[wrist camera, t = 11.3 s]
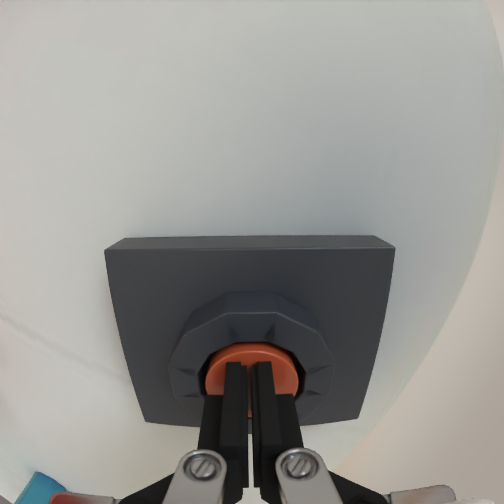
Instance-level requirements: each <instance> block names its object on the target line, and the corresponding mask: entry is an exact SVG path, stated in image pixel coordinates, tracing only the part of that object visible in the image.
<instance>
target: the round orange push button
mask: <svg viewBox="0 0 504 504" xmlns="http://www.w3.org/2000/svg"><path fill="white" fill-rule="evenodd" d="M257 361H271V363H272V371H273V378H274V386H275V394H287V393H292V394H293V396H295V394H296V392H297V389H298V381H299V380H298V375H297V371H296V366H295V362H294V358H293V354H292V352H291V351H289V350H286V349H284V348H282V347H279V346H277V345H275V344H273V343H271V342H268V341H267V342H234V343H232V344H230V345H228V346H226V347H224V348H222V349H220V350H218V351H215V352H213V353H211V354H210V358H209V363H208V369H207V374H206V381H205V386H206V391H207V393H208V394H209V395H223V393H224V381H225V370H226V362H241V365H246V366H247V409H248V417H252V401H251V365H257Z"/></svg>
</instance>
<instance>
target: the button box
mask: <svg viewBox="0 0 504 504" xmlns="http://www.w3.org/2000/svg"><path fill="white" fill-rule="evenodd" d="M104 254H105V261H106V268H107V274H108V280H109V286H110V292H111V297H112V303H113V308H114V313H115V317H116V322H117V326H118V331H119V335H120V339H121V343H122V347H123V351H124V355H125V359H126V362H127V366H128V370H129V373H130V376H131V380H132V383H133V386H134V390H135V393H136V396H137V399H138V402H139V405H140V408H141V411H142V414H143V416H144V419H145V421H146V422H150V423H158V424H167V425H177V426H189V427H201V421H202V415H203V408H204V402H205V397H206V394H208V393H207V391H206V386H205V381H206V374H207V369H208V363H209V358H210V354H211V353H213V352H215V351H218V350H220V349H222V348H224V347H226V346H228V345H230V344H232V343H234V342H267V341H268V342H271V343H273V344H275V345H277V346H279V347H282V348H284V349H286V350H289V351H291V352H292V354H293V358H294V362H295V366H296V371H297V375H298V380H299V381H298V389H297V392H296V394H295V396H294V401H295V405H296V410H297V415H298V420H299V425H300V426H306V425H316V424H324V423H332V422H339V421H346V420H352V419H357V418H358V417H359V414H360V411H361V408H362V404H363V401H364V398H365V395H366V391H367V388H368V384H369V381H370V377H371V374H372V370H373V366H374V362H375V358H376V354H377V350H378V346H379V342H380V337H381V333H382V328H383V323H384V318H385V313H386V308H387V302H388V297H389V291H390V284H391V278H392V271H393V263H394V255H395V247H394V246H392V245H391V244H389V243H387V242H385V241H383V240H382V239H380V238H378V237H376V236H332V235H309V236H201V237H152V238H124V239H122V240H120V241H119V242H117V243H115V244H114V245H112V246H110V247H109V248H107V249H105V250H104ZM248 434H252V417H248Z"/></svg>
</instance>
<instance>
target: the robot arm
mask: <svg viewBox="0 0 504 504" xmlns="http://www.w3.org/2000/svg"><path fill="white" fill-rule="evenodd" d="M251 401H252V444H253V476H254V488H257V487H260V495H261V499H263V500H264V501H266V502H267V503H269V504H495V503H494V502H492V501H490V500H487V499H483V498H471V499H462V500H456V496H455V493H454V491H453V490H452V489H451V488H450V487H449V486H445V485H436V486H430V487H425V488H419V489H413V490H405V491H397V492H390V494H387V495H381V494H379V493H377V492H375V491H372V490H370V489H368V488H365V487H363V486H361V485H358V484H356V483H354V482H352V481H349V480H347V479H345V478H343V477H341V476H339V475H336V474H335V473H333V472H331V471H329V470H327V468H326V466H325V463H324V461H323V459H322V458H321V456H320V455H319V454H318V453H316V452H315V451H313V450H311V449H308V448H304V446H303V441H302V436H301V430H300V425H299V420H298V415H297V410H296V405H295V401H294V396H293V394H292V393H287V394H275V386H274V378H273V371H272V363H271V361H257V365H251ZM243 488H249V470H248V409H247V366H246V365H241V362H226V370H225V381H224V393H223V395H209V394H206V397H205V402H204V408H203V415H202V421H201V428H200V434H199V441H198V448H197V450H193V451H191V452H188V453H187V454H185V455H184V456H183V457H182V458H181V460H180V461H179V463H178V466H177V468H176V471H175V473H173V474H171V475H169V476H167V477H165V478H163V479H162V480H160V481H158V482H156V483H154V484H152V485H150V486H148V487H146V488H144V489H142V490H140V491H138V492H136V493H134V494H131V495H129V496H127V497H125V498H124V499H114V498H113V497H108V496H96V495H87V494H80V493H73V492H66V491H59V492H56V493H54V494H53V495H52V496H51V497H50V500H49V503H48V504H236V503H237V502H238V501H240V500H241V499H242V495H243Z"/></svg>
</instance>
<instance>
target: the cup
mask: <svg viewBox="0 0 504 504" xmlns="http://www.w3.org/2000/svg"><path fill="white" fill-rule="evenodd" d="M59 491H66V489H65V488H64V487H63V486H61V485H60V484H59V483H57V482H56V481H55V480H53V479H52V478H50V477H48V476H46V475H44V474H42V473H35V474H34V475H33V477H32V478H31V480H30V481H29V483H28V484H27V485H26V487H25V488H24V490H23V491H22V493H21V494H20V496H19V497H18V499H17V500H16V502H15V503H14V504H48V503H49V500H50V497H51V496H52V495H53V494H54V493H56V492H59ZM66 492H67V491H66Z"/></svg>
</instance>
